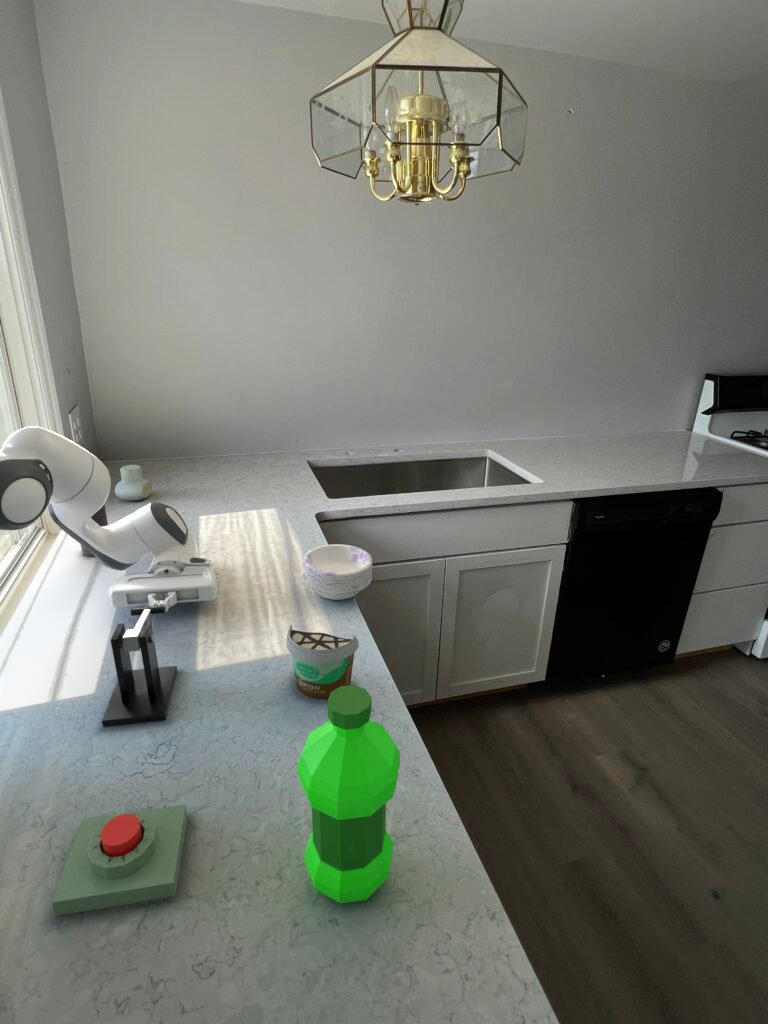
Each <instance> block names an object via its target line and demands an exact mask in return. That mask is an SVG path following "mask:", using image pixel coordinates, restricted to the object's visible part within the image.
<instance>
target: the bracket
mask: <svg viewBox="0 0 768 1024" xmlns="http://www.w3.org/2000/svg"><path fill="white" fill-rule="evenodd" d="M125 625H126V624H125V623H124V622H123V623H117V624H116V626H115V629H114V631H113V633H112V636H111V638H110V646H111V650H112V651H111V652H112V656H113V662H114V666H115V672H116V678H117V681H116V683H115V686H114V688H113V692H112V693H111V696H110V699H109V702H108V703H107V706H106V708H105V709H106V710H105V712H104V714H103V717H102V720H101V725H102V728H107V727H116V726H125V725H134V724H143V723H153V722H162V721H166V720H167V717H168V713H169V708H170V704H171V700H172V696H173V691H174V688H175V684H176V679H177V675H178V666H177V665H170V666H159V661H158V655H157V649H156V642H155V640H156V639H155V634H154V630H153V629H154V628H153V623H152V620H148V621H146V622H144V625H143V628H142V630H141V633H140V636H139V641H140V652H141V659H142V665H143V668H138V669H137V668H136V669H133V665H132V660H131V654H130V651H129V652H124V647H123V639H122V637H123V636H124V634H125V632H126V631H127V630H126V627H125Z"/></svg>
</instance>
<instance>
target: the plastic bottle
mask: <svg viewBox="0 0 768 1024" xmlns="http://www.w3.org/2000/svg"><path fill="white" fill-rule="evenodd" d="M371 715H372V695H370V693H369V692H368V690H367V689H366V688H364V687H360V686H357V685H356V684H355V685H354V684H352V685H351V684H350V686H341V687H339V688H337V689H336V690H334V691H332V692H331V693H330V696H329V698H328V699H327V718H328V719H329V720H328V721H326V722H324V723H323V724H321V725H320V726H318V727H317V728H315V729H313V730H312V731H311V732H309V734H308V737H307V739H306V740H305V744H304V746H303V748H302V752H301V754H300V756H299V758H298V762H297V764H296V766H297V776H298V779H299V782H300V785H301V787H302V789H303V791H304V793H305V796H306V798H307V800H308V803H309V805H310V807H311V821H312V831H311V832H310V836H309V839H308V842H307V846H306V849H305V851H304V863H305V866H306V868H307V871H308V873H309V876H310V878H311V882H312V884H313V886H314V888H315V889H316V891H317V892H319V893H320V894H323V895H324V896H326V897H327V898H330V899H331V900H333V901H335V902H337V903H338V904H347V903H353V902H360V901H367V900H368V899H369V898H370V897H371V896H372V895H373V894H374V893H375V892H376V891H377V890H378V889H379V888H380V887H382V885H383V884H384V883H385V882H387V880H388V879H389V877H390V871H391V865H392V858H393V852H394V842H393V840H392V838H391V836H390V835H389V833H388V831H387V829H386V820H387V819H386V818H387V803H388V802H389V801H390V800H391V799H393V798H394V794H395V793H396V792H395V791H396V789H397V781H398V776H399V770H400V764H401V752H400V750H399V748H398V746H397V744H396V742H395V741H394V740H393V738H392V737H391V735H390V734H389V732H388V731H387V729H386V727H385V726H384V725H382V724H379V723H377V722H375V721H372V720H370V718H371Z"/></svg>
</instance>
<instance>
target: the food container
mask: <svg viewBox="0 0 768 1024" xmlns="http://www.w3.org/2000/svg"><path fill="white" fill-rule="evenodd" d="M285 646H286V649H287V651H288V652H289V653H290V655H291V660H292V666H293V673H294V678H295V684H296V688H297V689H298V691H299V692H300V693H301V694H303V695H304V696H306V697H308V698H311V699H313V700H314V699H315V700H328V698H329V696H330V693H331V692H332V691H334V690H336V689H337V688H339V687H341V686H350V685H351V683H352V675H353V666H354V660H355V652H357V650H358V649H359V647H360V643H359V639H358V638H357V635H354V637H353V638H345V637H339V636H336V635H332V634H328V633H325V632H311V631H310V632H309V631H302V630H296V629H293V625H292V624H291V625H290V626H289V628H288V630H287V634H286V638H285Z"/></svg>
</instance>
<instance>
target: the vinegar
mask: <svg viewBox="0 0 768 1024" xmlns="http://www.w3.org/2000/svg"><path fill="white" fill-rule="evenodd" d="M105 504H106V503H105ZM105 504H104V505H103V506H102V507H101V509H99V510H98V511H97V512H96V513H95V514H94V515H93V516H92V517H91V519H93V520H94V521H95V522H96V523H97V524H98V525H99V526H101V527H103V526H108V525H109V522H108V516H107V511H106V505H105ZM79 545H80V550H81V554H83V555H84V556H87V557H96V556H95V555H94V554H93V553H92V552H90V551H89V550H88V549H86V548H85V547H84V546H83V545H81V544H80V543H79Z"/></svg>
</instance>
